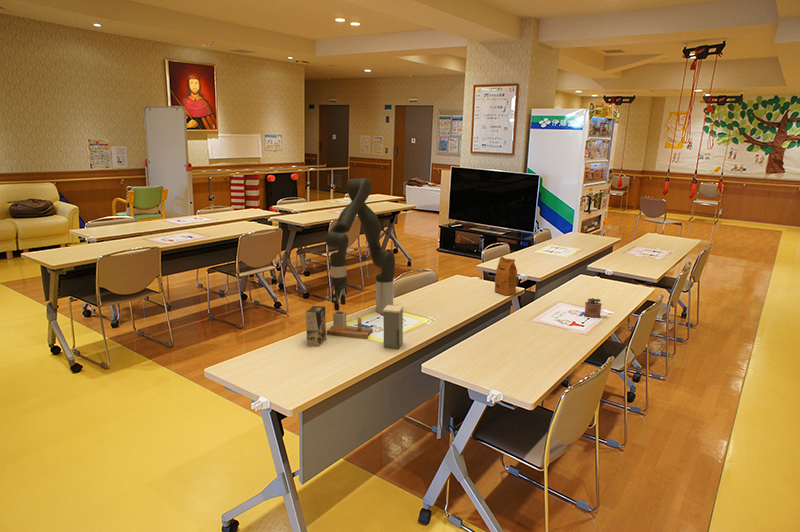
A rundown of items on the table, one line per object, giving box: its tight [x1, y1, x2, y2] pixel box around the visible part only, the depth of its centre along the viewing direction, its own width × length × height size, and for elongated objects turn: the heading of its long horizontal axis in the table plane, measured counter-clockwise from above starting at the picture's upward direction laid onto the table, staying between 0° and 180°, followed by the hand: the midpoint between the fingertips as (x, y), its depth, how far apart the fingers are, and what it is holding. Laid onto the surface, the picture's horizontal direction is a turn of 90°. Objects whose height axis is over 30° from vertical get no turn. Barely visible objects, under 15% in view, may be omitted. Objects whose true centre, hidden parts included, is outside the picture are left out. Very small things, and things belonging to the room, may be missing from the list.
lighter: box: [583, 297, 603, 319], centre depth 271 cm, size 8×3×10 cm, turn 73°
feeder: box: [382, 304, 404, 350], centre depth 233 cm, size 7×7×18 cm
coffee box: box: [305, 305, 327, 347], centre depth 237 cm, size 9×6×16 cm
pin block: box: [326, 317, 374, 340], centre depth 248 cm, size 9×20×8 cm, turn 76°
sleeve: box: [332, 310, 348, 331], centre depth 249 cm, size 5×5×8 cm
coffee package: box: [494, 255, 518, 296], centre depth 312 cm, size 10×12×22 cm
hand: (340, 307), depth 247 cm, fingers open, 8 cm apart
